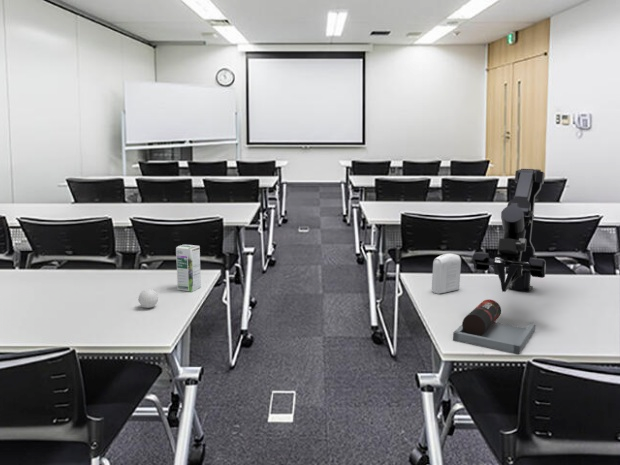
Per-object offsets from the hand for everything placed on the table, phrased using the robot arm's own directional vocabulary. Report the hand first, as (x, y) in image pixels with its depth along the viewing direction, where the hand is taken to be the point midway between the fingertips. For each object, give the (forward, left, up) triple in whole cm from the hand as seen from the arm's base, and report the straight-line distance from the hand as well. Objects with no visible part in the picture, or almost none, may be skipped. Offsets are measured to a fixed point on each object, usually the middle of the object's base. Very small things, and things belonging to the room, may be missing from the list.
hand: (503, 291), depth 148 cm
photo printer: (-22, -23, -10) cm, 34 cm away
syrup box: (+22, -95, -10) cm, 98 cm away
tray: (+9, +1, -10) cm, 13 cm away
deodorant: (-2, -4, -6) cm, 7 cm away
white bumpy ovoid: (+43, -92, -10) cm, 102 cm away
